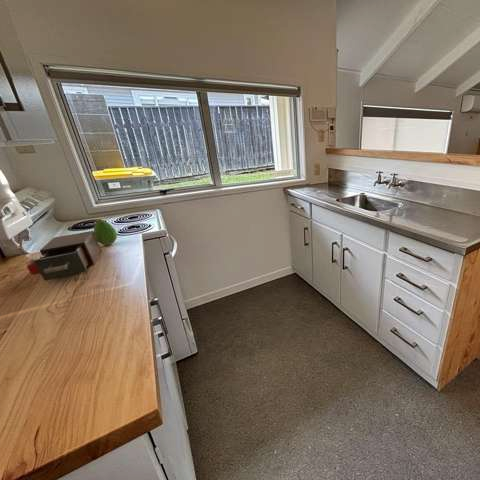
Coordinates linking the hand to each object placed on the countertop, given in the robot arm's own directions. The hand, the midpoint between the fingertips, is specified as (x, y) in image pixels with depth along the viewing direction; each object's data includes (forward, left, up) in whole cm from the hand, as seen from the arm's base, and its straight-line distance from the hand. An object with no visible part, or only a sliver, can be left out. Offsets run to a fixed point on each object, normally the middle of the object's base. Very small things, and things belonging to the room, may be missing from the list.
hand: (22, 244), depth 92 cm
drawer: (+12, -9, -10) cm, 18 cm away
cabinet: (+12, +2, -11) cm, 16 cm away
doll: (0, 0, -11) cm, 11 cm away
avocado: (+20, +17, -12) cm, 28 cm away
